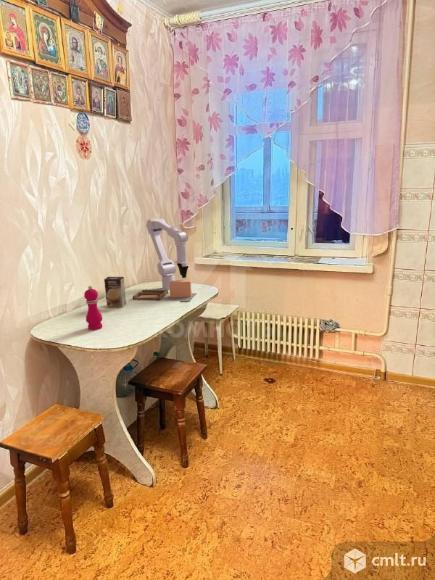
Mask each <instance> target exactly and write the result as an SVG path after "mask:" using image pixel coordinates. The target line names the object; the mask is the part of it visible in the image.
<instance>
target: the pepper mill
mask: <svg viewBox="0 0 435 580" xmlns="http://www.w3.org/2000/svg"><path fill="white" fill-rule="evenodd" d="M84 291H85V292H84V293H83V297H84V299H85V301H86V302H85V303H86V304H87V313H86V315H85V322H86V323H87V328H88V330H90V331H98V330H100V329H102V328H103V323H102V321H103V316H102V313H101V312H100V310H99V308H98V297H99V291H98V290H96V289H94V288H93V286H92V285H89V286H88V289H86V290H84Z"/></svg>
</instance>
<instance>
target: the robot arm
mask: <svg viewBox="0 0 435 580" xmlns="http://www.w3.org/2000/svg"><path fill="white" fill-rule="evenodd" d="M145 226H146V228H147V229H146V230H147V231H148V234H149V236H150V238H151V241H152V244H153V246H154V249H155V251H156V252H155V253H156V255H157V258H158V260H159V262H158V264H157V271H158V274H159V276H161V284H162V287H161V289H159V290H168V291H170V289H169V281H176V276H175V273H176V270H177V268H178V271H179V275H180V276H181V278H182V279H185V278H187V273H188V269H189V267H190V266H189V265H187V263H188V253H187V242H188V240H189V236H188V234H187V232H186V231H181V230H180V229H178V228H176V226H170V225H169V224H167V222H166V221H165V219H164V218H163V217H160V218H153V219H151V218H149V219H147V221H146V225H145ZM163 231H164V232H166V233H167V235H168V236H170V237H171V238H172V239H173V242H174V244H175V246H176V261H175V263H176V265H175V263H174V262H173V260H171V259H170V258H168V255H167V252H166V250H165V249H166V248H165V247H164V244H163V241H162V239H161V236H160V235H161V234H162V232H163ZM176 266H177V268H176Z"/></svg>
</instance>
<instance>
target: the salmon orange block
mask: <svg viewBox="0 0 435 580" xmlns="http://www.w3.org/2000/svg"><path fill="white" fill-rule="evenodd" d="M169 289H170V290H169V297H170V298H171V297H191V296H192V280H191V279H190V280H189V279H185V280H184V279H181V280H175V281H169Z"/></svg>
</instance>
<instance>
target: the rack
mask: <svg viewBox="0 0 435 580" xmlns="http://www.w3.org/2000/svg"><path fill="white" fill-rule="evenodd" d="M168 294H169V290H160V289H142V290H140V291H139V292H137V293H135V294H134V295H133V296H132V300H133V301H161V300H162V299H164V298H165V297H166V296H167V295H168ZM147 295H158V298H139V297H140V296H147Z"/></svg>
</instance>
